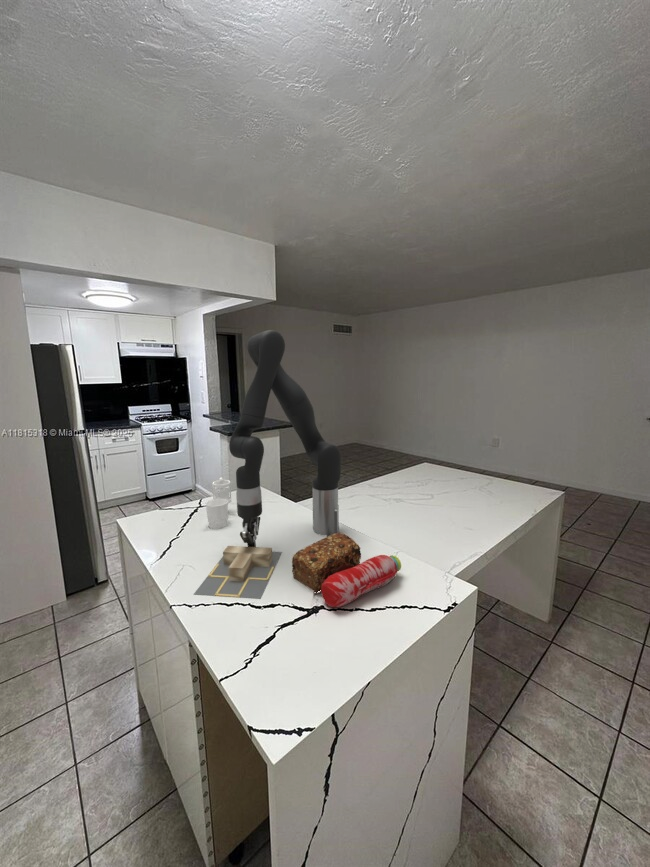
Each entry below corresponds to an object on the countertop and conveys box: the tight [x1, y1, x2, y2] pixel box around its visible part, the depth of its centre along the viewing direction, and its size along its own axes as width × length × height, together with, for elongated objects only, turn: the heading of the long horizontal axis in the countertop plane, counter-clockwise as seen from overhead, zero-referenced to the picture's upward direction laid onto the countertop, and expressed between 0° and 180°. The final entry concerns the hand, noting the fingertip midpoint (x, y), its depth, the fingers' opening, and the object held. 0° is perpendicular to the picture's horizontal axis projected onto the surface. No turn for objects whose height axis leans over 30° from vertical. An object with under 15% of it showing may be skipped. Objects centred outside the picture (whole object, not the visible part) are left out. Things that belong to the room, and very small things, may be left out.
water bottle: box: [320, 554, 402, 608], centre depth 96 cm, size 12×8×25 cm
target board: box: [192, 551, 283, 600], centre depth 103 cm, size 18×24×1 cm
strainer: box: [211, 477, 232, 504], centre depth 146 cm, size 7×7×15 cm
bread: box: [291, 532, 362, 593], centre depth 102 cm, size 19×11×10 cm, turn 133°
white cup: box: [205, 499, 229, 530], centre depth 134 cm, size 8×8×10 cm
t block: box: [222, 545, 273, 582], centre depth 103 cm, size 14×12×4 cm
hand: (252, 551), depth 112 cm, fingers closed
